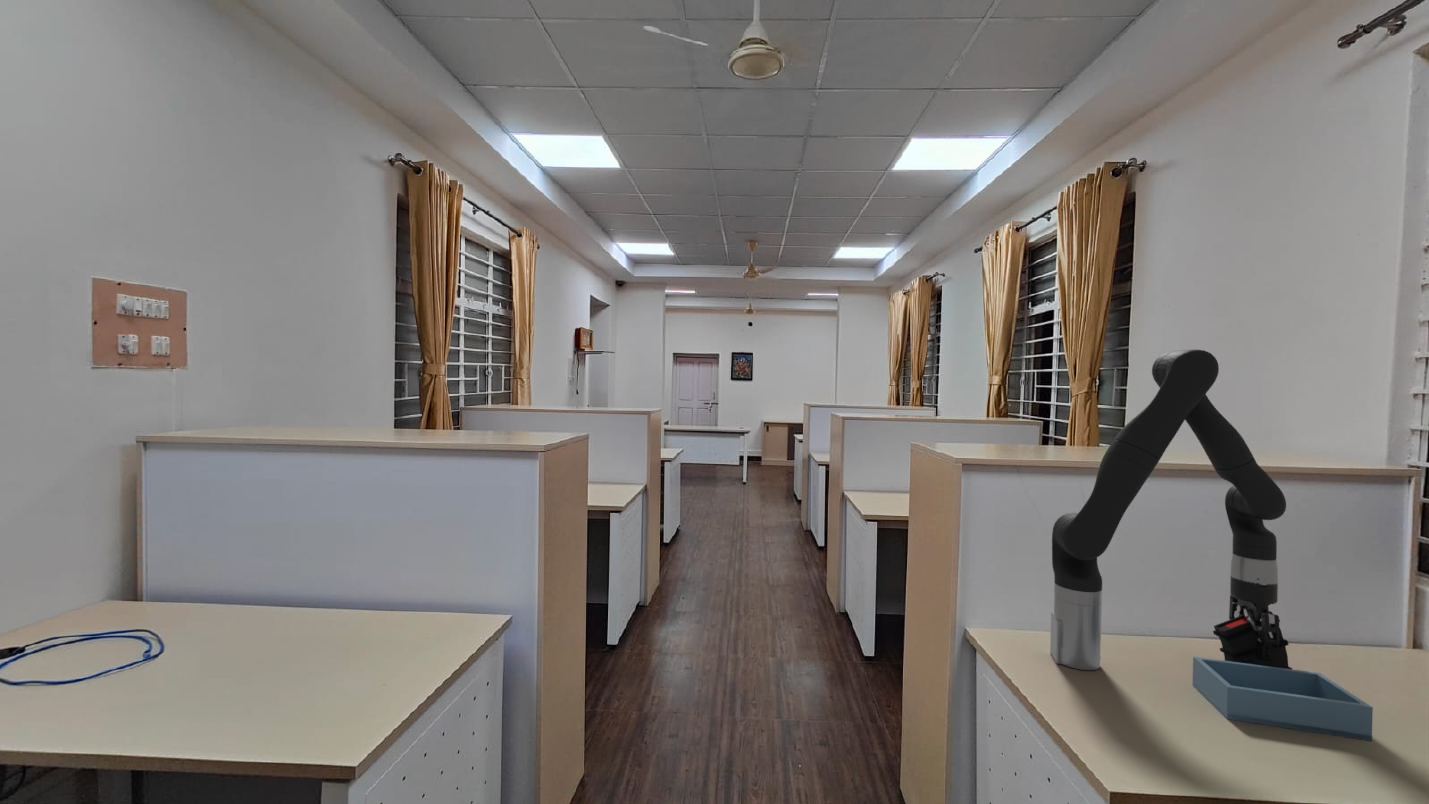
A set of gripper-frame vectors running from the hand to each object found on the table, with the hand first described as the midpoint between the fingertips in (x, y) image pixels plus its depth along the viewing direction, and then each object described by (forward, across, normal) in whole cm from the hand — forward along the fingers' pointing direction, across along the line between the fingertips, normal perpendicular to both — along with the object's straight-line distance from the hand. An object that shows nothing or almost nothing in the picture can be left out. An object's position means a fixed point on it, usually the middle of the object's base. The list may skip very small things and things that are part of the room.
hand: (1252, 652), depth 128 cm
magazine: (+6, 0, 0) cm, 6 cm away
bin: (+6, +15, -3) cm, 16 cm away
